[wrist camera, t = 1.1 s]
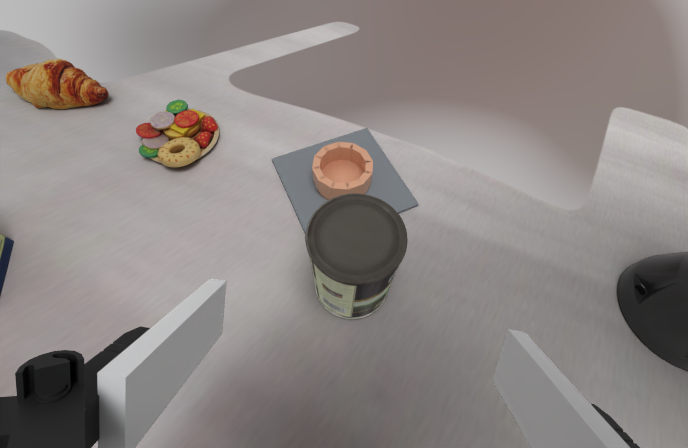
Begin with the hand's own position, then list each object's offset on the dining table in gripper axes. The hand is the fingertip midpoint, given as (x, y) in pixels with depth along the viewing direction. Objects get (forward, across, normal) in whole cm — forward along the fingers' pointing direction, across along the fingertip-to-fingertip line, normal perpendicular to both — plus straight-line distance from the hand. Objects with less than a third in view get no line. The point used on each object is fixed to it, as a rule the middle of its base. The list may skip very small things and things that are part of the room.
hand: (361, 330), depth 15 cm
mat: (+40, -4, +3) cm, 40 cm away
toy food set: (+44, -33, +5) cm, 55 cm away
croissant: (+50, -59, +9) cm, 79 cm away
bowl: (+40, -4, +3) cm, 40 cm away
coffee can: (+29, 0, -10) cm, 30 cm away
